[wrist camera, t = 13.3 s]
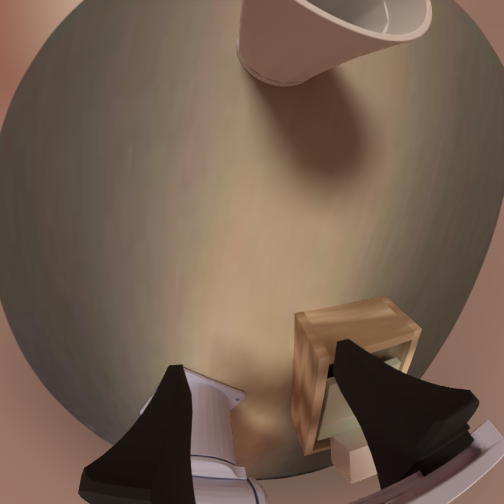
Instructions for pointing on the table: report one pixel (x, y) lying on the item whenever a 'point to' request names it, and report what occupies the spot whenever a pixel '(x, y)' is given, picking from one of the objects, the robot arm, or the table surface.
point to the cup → (321, 34)
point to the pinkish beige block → (352, 455)
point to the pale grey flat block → (339, 409)
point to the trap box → (324, 346)
